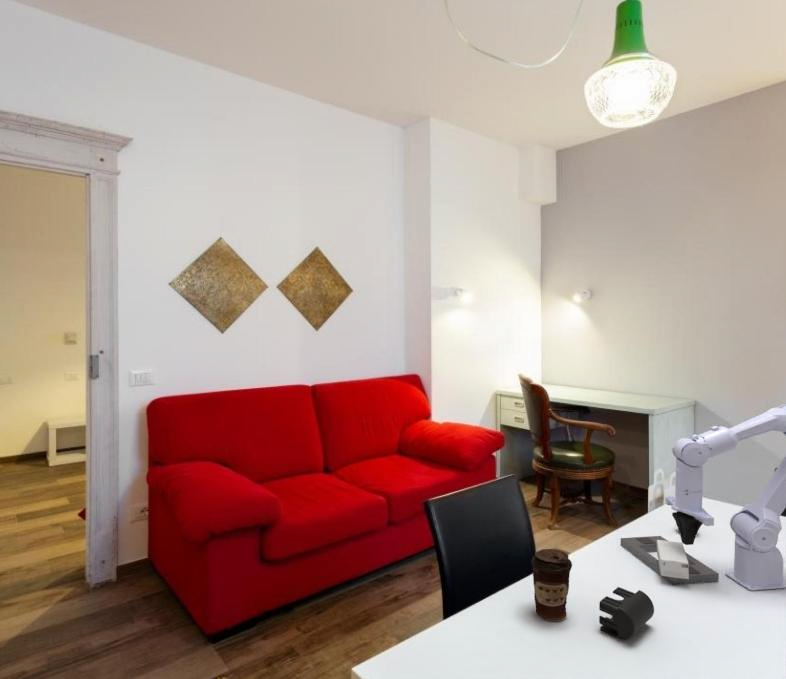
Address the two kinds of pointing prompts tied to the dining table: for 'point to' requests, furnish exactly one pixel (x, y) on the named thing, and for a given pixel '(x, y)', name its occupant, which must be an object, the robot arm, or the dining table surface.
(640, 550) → the plate
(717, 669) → the dining table surface
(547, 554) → the coffee cup
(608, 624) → the end cap
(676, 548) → the skincare box
